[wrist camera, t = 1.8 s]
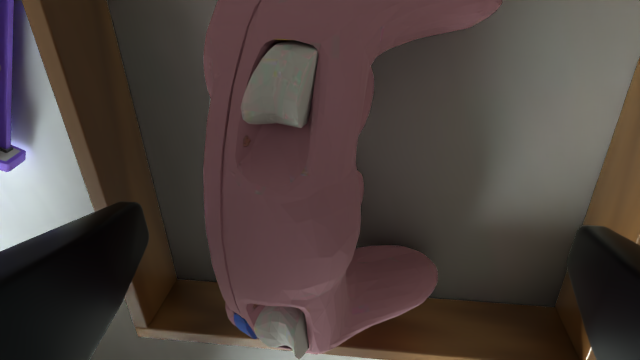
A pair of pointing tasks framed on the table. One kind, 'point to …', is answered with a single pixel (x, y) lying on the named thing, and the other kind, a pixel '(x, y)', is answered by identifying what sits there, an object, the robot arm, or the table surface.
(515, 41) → the table surface
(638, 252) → the robot arm
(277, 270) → the video game controller
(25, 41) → the table surface
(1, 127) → the toy race car
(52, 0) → the wooden box
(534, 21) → the table surface
